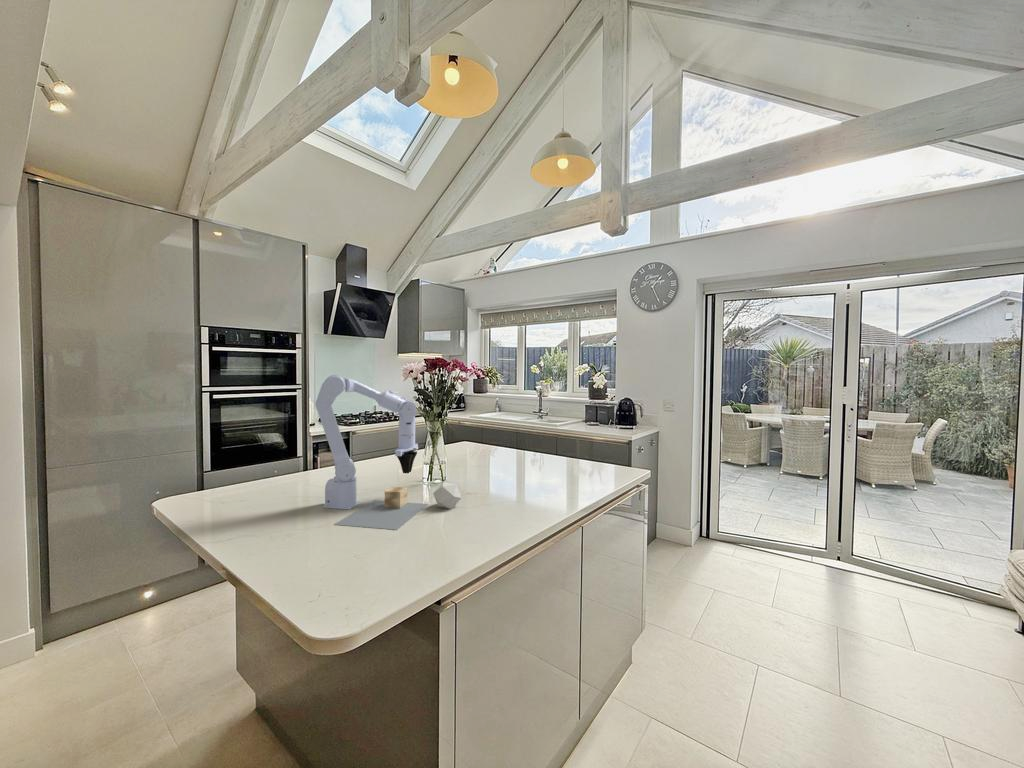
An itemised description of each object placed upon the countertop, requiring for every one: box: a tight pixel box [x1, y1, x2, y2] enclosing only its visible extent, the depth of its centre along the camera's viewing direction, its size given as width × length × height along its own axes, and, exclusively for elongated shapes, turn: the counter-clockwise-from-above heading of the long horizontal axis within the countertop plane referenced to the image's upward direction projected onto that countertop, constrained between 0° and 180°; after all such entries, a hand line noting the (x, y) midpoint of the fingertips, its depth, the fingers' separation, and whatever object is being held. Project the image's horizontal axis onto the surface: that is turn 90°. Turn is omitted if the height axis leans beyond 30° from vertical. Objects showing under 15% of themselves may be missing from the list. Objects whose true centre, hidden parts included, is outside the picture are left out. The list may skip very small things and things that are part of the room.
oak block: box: [384, 486, 408, 509], centre depth 143 cm, size 6×6×6 cm
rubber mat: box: [333, 499, 429, 531], centre depth 135 cm, size 20×24×1 cm
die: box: [432, 482, 462, 510], centre depth 142 cm, size 8×9×10 cm
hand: (406, 472), depth 151 cm, fingers closed
